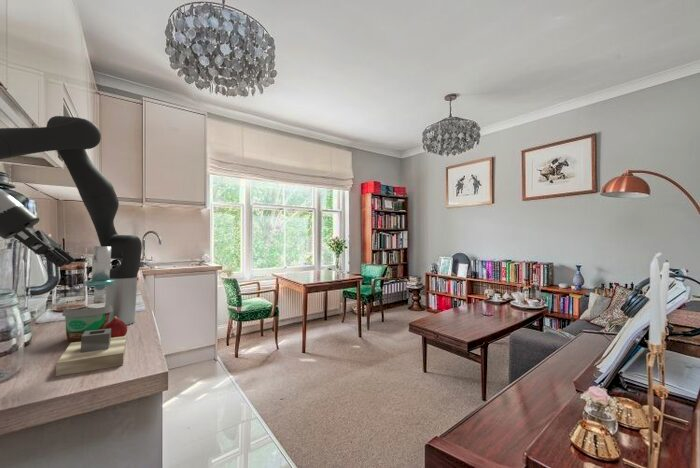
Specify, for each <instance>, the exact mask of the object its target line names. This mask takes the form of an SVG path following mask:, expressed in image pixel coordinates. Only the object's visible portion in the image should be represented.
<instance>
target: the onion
mask: <svg viewBox="0 0 700 468" xmlns="http://www.w3.org/2000/svg"><path fill="white" fill-rule="evenodd" d="M109 328H111V338H115V337H123V336H126V335H127V333H128V326H127V325H126V324H125V323H124V322H123V321H122V320H119V319H118V318H117V317H116V316H115V317H114V319H113V320H112V321H111V322H109V323H108V324H107V325H106V326H105V327H104V329H109Z"/></svg>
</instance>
